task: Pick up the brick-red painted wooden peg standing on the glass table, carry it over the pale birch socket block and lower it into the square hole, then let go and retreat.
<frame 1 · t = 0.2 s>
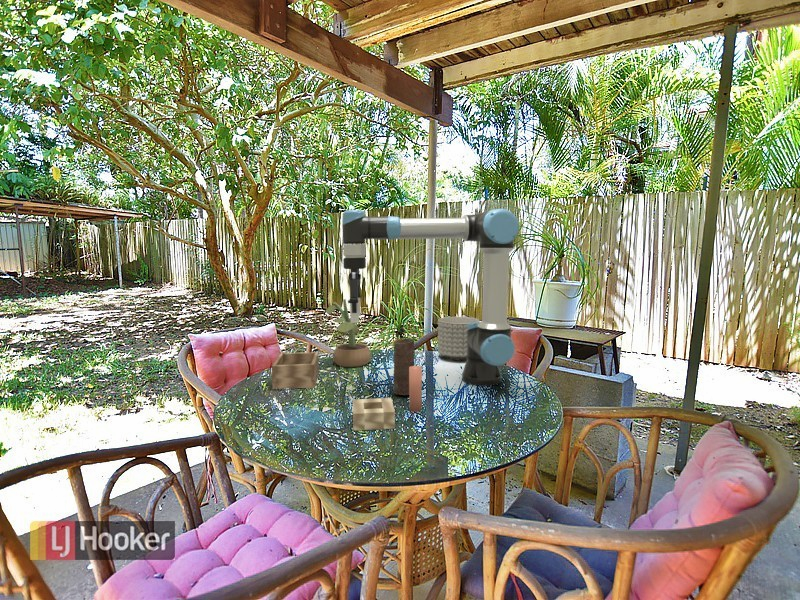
hand: (355, 319, 153), 28 cm above the table, fingers open, 13 cm apart
socket block: (373, 421, 135), on the table
planter: (458, 358, 209), on the table
peg: (415, 409, 144), on the table
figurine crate: (297, 381, 175), on the table
brown log: (404, 395, 159), on the table
potted plant: (348, 365, 199), on the table
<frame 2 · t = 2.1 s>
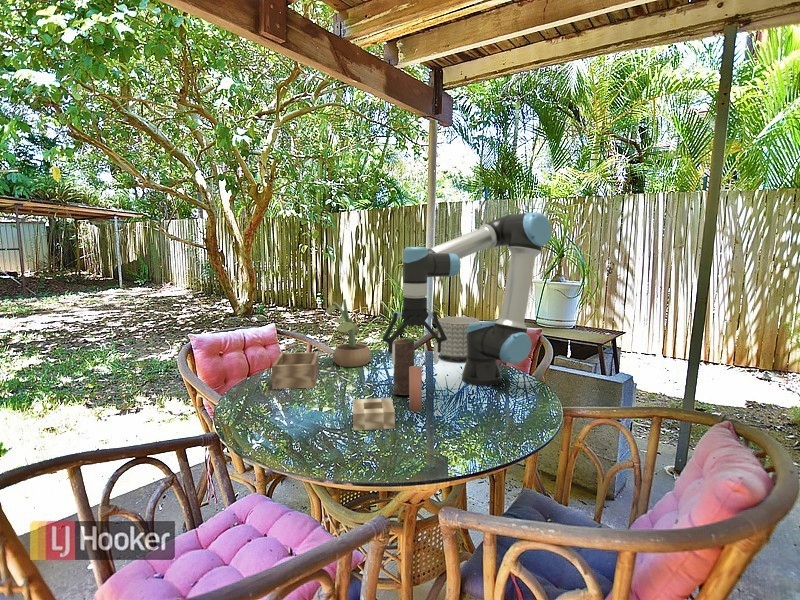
hand: (414, 362, 142), 16 cm above the table, fingers open, 13 cm apart
nothing on the table moved.
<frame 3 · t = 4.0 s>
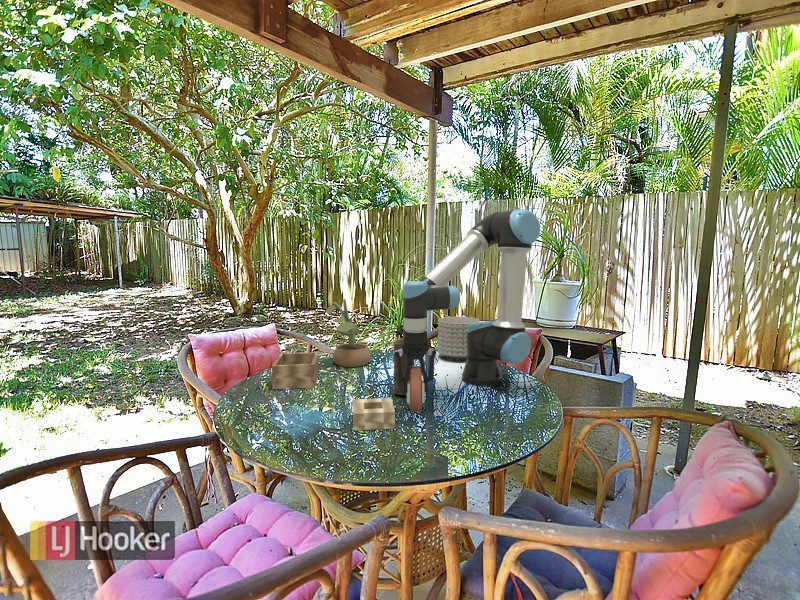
hand: (415, 401, 144), 3 cm above the table, fingers closed on peg, 4 cm apart
peg: (415, 409, 144), on the table, touching gripper
everything else where it was.
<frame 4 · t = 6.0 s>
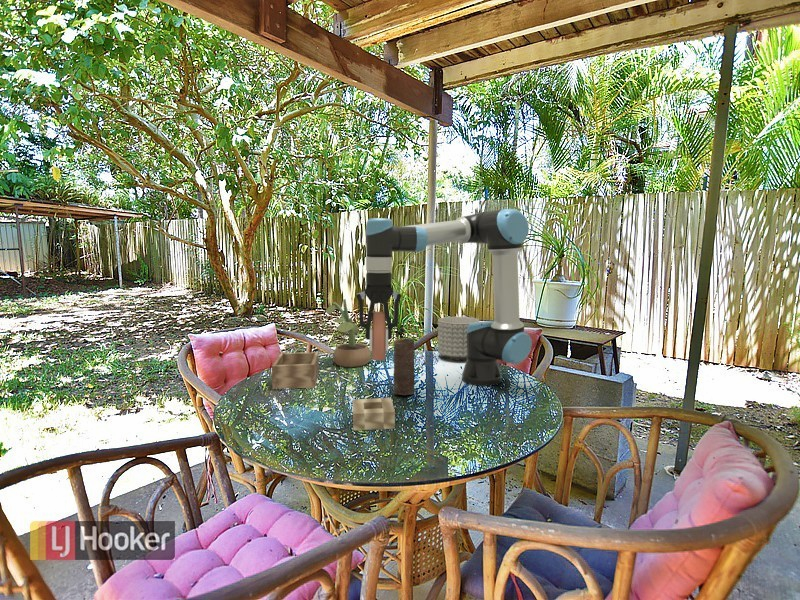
hand: (378, 349, 133), 22 cm above the table, fingers closed on peg, 4 cm apart
peg: (378, 358, 134), point 19 cm above the table, touching gripper
everything else where it was.
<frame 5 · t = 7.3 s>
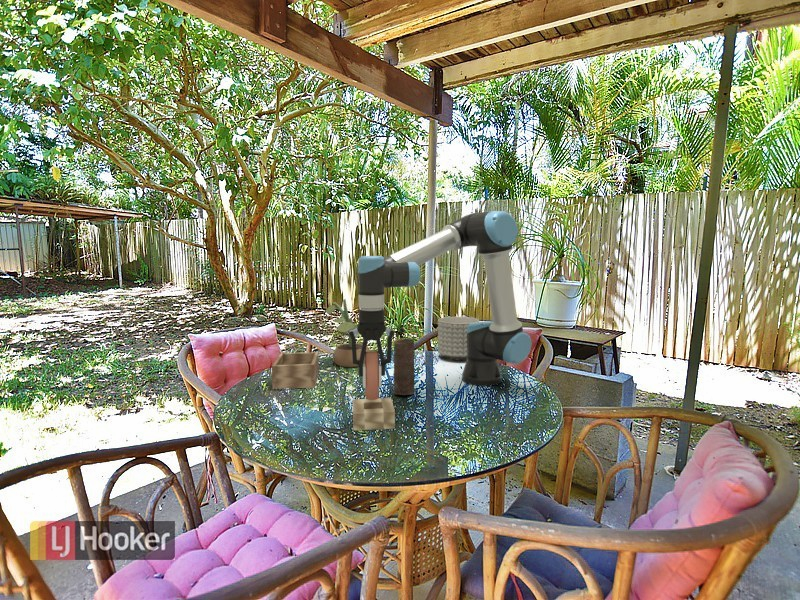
hand: (372, 386, 133), 11 cm above the table, fingers closed on peg, 4 cm apart
peg: (372, 397, 134), point 7 cm above the table, touching gripper
everything else where it was.
when the fingers open (6 cm above the table, at t = 8.4 s): peg drops 2 cm, resting in socket block.
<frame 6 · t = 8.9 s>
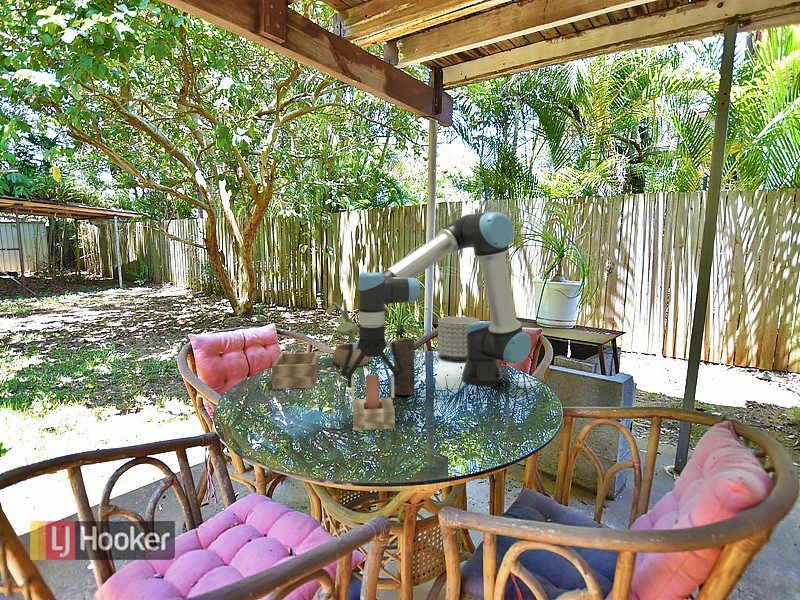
hand: (372, 397, 134), 8 cm above the table, fingers open, 11 cm apart
peg: (373, 421, 135), resting in socket block
everything else where it was.
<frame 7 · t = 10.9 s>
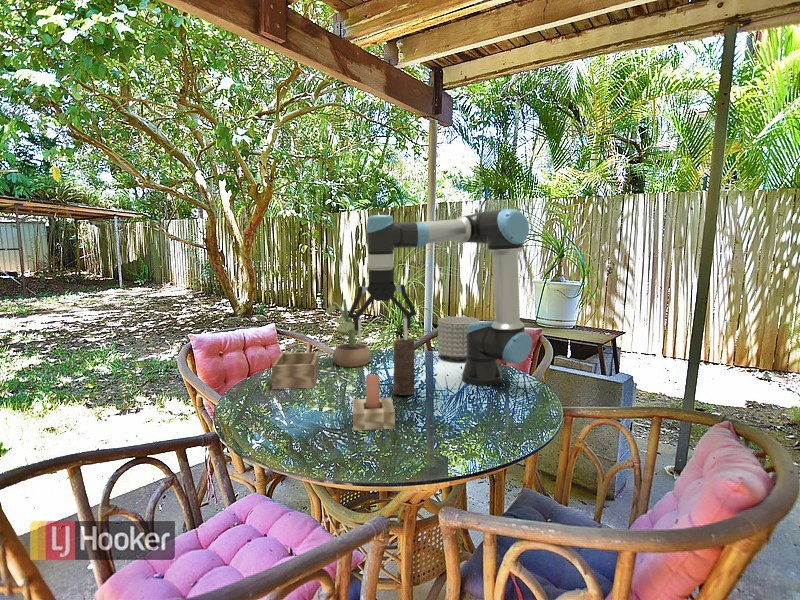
hand: (383, 340, 133), 25 cm above the table, fingers open, 13 cm apart
nothing on the table moved.
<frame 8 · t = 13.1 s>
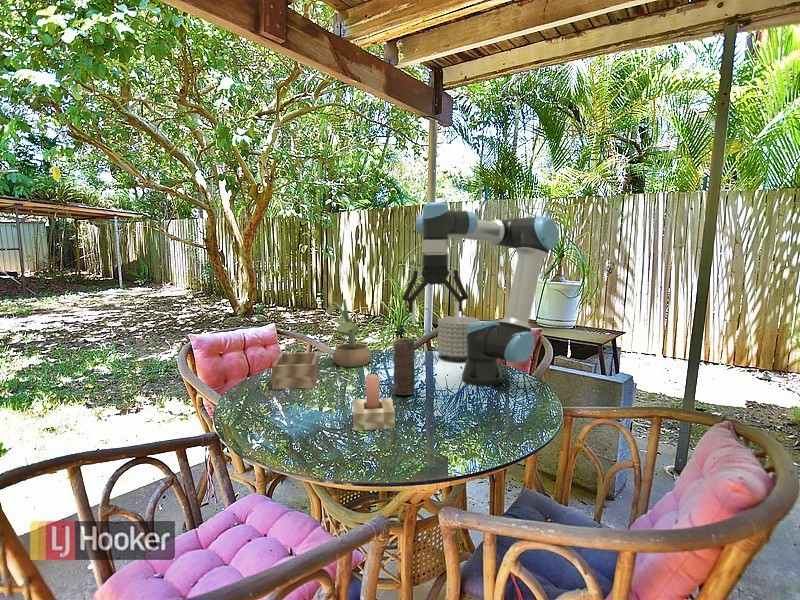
hand: (435, 322, 139), 29 cm above the table, fingers open, 13 cm apart
nothing on the table moved.
at the end: peg 0.0 cm off-centre on the socket block, point 0.0 cm above the socket block's base; peg tilted 0°; the gripper is holding nothing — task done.
